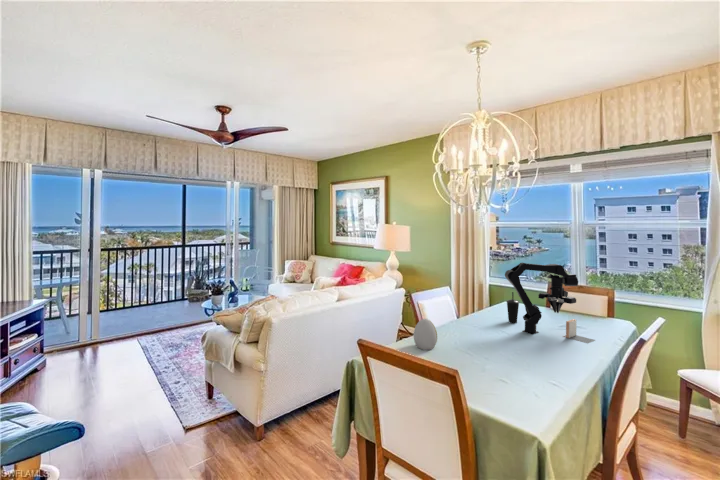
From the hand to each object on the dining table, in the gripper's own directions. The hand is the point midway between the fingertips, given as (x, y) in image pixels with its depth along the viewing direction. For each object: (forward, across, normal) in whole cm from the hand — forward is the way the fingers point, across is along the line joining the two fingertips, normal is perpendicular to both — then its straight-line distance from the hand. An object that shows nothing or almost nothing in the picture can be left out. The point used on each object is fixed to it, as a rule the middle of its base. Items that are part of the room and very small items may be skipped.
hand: (556, 312), depth 192 cm
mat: (+12, -12, 0) cm, 17 cm away
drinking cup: (+12, +27, +1) cm, 30 cm away
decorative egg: (+12, +26, +78) cm, 83 cm away
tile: (+12, -8, 0) cm, 14 cm away
